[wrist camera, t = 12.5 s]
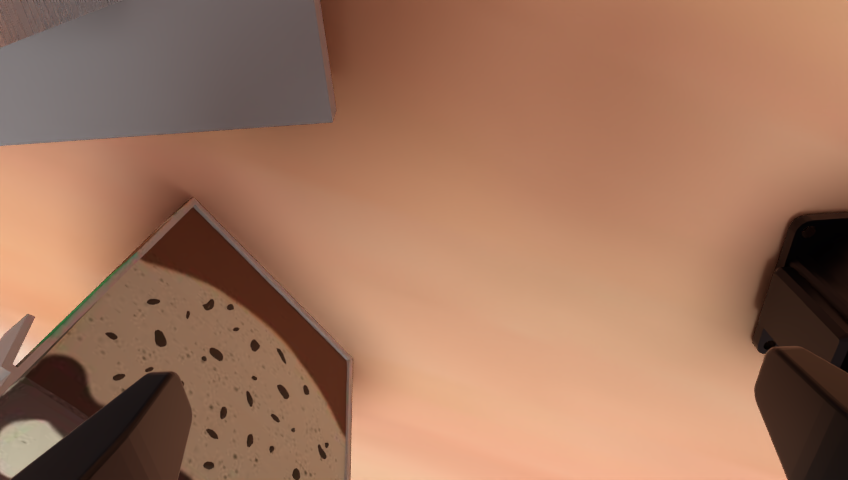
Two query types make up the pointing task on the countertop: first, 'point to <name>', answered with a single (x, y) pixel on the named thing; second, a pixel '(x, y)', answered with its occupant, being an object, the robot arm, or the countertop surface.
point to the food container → (189, 362)
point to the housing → (41, 16)
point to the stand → (168, 71)
